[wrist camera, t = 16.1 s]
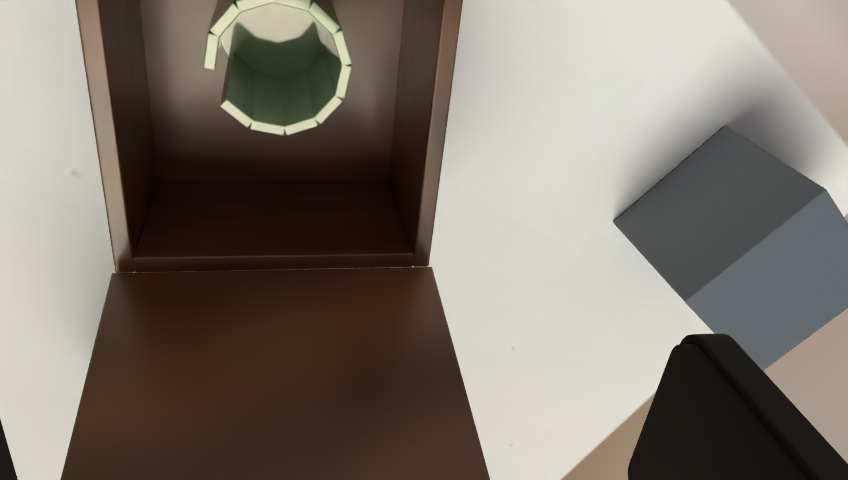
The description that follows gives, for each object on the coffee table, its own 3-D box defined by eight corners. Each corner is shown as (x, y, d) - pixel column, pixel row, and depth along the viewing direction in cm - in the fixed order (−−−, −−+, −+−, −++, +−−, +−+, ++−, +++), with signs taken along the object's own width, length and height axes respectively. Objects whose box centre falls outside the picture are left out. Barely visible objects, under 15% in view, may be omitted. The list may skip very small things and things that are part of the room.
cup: (269, -66, 27) (270, -41, 21) (358, 22, 29) (379, 64, 24) (191, 25, 28) (173, 70, 23) (283, 102, 31) (287, 160, 25)
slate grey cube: (724, 125, 37) (826, 189, 30) (783, 208, 41) (884, 281, 34) (612, 221, 39) (685, 302, 32) (678, 292, 43) (755, 376, 36)
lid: (1, 713, 15) (45, 764, 17) (532, 632, 17) (498, 687, 20) (111, 272, 25) (128, 347, 28) (432, 266, 28) (418, 335, 30)
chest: (109, -132, 25) (56, -121, 19) (426, -98, 28) (473, -79, 22) (145, 185, 32) (115, 273, 26) (398, 187, 35) (428, 267, 28)
